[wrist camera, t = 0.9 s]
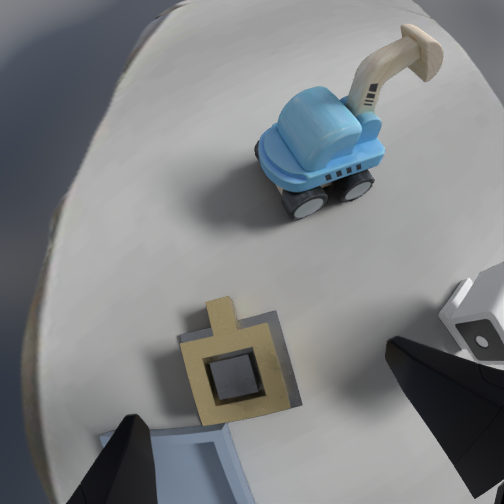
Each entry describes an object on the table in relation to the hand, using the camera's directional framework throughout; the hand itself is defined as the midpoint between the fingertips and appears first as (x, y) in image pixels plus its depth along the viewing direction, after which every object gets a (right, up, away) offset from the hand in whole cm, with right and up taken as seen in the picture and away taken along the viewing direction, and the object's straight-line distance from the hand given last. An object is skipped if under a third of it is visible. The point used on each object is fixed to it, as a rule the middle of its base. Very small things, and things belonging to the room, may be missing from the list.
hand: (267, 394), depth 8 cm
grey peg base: (-2, -6, +15) cm, 16 cm away
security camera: (+21, -3, +14) cm, 26 cm away
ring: (-2, -4, +15) cm, 16 cm away
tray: (-7, -18, +11) cm, 23 cm away
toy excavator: (+9, +14, +20) cm, 26 cm away
